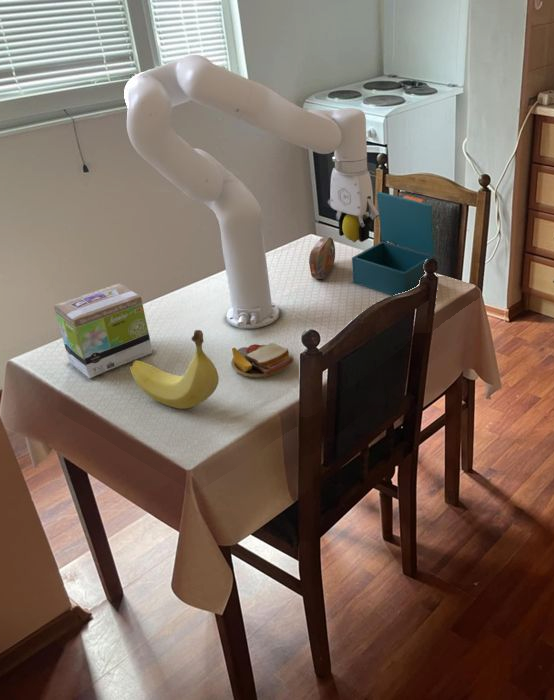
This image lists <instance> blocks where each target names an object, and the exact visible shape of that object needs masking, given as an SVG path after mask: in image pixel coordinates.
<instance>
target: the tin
mask: <svg viewBox="0 0 554 700" xmlns="http://www.w3.org/2000/svg"><path fill="white" fill-rule="evenodd" d="M335 260H336V247H335V241H334V239H333V238H332V237H321V238H320V239H319V240H318V241H317V243H315V245H314V247H312V249H311V251H310V253H309V257H308V264H309V269H310V270H309V271H310V275H311V277H312V279H318V280H324V279H325V278H326V277H327V275H328V274H329V273H330V271H331V269H332V268H333V267H334V265H335Z"/></svg>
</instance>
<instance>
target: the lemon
mask: <svg viewBox="0 0 554 700" xmlns="http://www.w3.org/2000/svg"><path fill="white" fill-rule="evenodd" d="M359 226H361V225H360V222H359V218H358V216H354V215H350V214H347V215H346V216H345V217H344V220H343V225H342V229H343V233H344V235H343V236H344V237H346V239H347V240H349V241H351V242H352V243H356V242H358V241H359Z"/></svg>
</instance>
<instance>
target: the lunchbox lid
mask: <svg viewBox="0 0 554 700" xmlns="http://www.w3.org/2000/svg"><path fill="white" fill-rule="evenodd" d="M376 199H377V211H378V212H379V216H378V218H379V228H380V239H381V241H384V242H387V243H390V244H394V245H397V246H401V247H404V248H408V249H411V250H415V251H418V252H422V253H425V254H428V255H432V256H434V255H435V254H436V251H435V249H436V248H435V238H434V237H435V233H434V231H435V230H434V216H433V204H430V203H426V200H425V199H422V198H418V197H414V196H411V195H406V194H405V195H403V196H402V197H401V196H397V195H394V194H390V193H386V192H381V191H377V192H376Z"/></svg>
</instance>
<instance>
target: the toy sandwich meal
mask: <svg viewBox="0 0 554 700" xmlns="http://www.w3.org/2000/svg"><path fill="white" fill-rule="evenodd" d="M231 351H232V356H233V357H232V359H231V362H230V365H231V368H232V369H233V371H235V372H236V373H237V374H240V375H242V376H243V377H247V378H252V379H256V378H257V379H258V378H259V379H260V378H267V377H270V376H273V375H275V374H277V373H279V372H280V371H282V370H284V369H285V368H287V367H288V366H290V365H292V363H294V358H293V356H290V352H289V351H290V350H289V348H287V347H284V346H280V345H278V344H276V343H274V342H271V343H268V344H258V343H257V344H256V343H255V344H251V345H249V346H248V347H247V346H242V347H239V348H238V349H237V348H235V347H232V348H231Z"/></svg>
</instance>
